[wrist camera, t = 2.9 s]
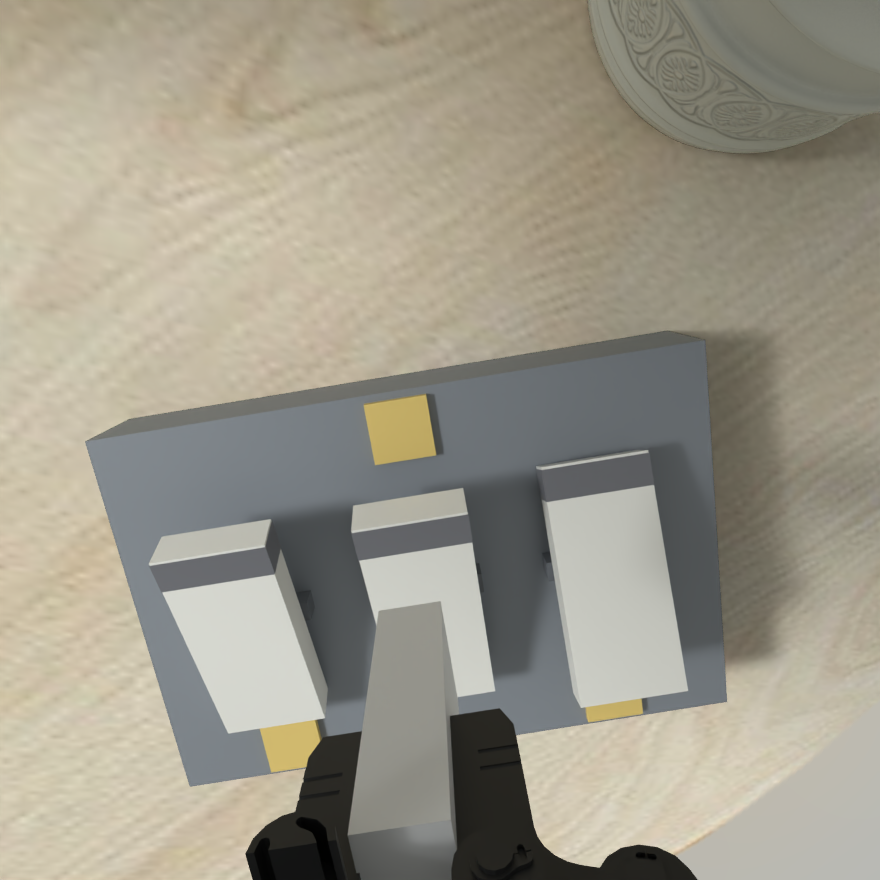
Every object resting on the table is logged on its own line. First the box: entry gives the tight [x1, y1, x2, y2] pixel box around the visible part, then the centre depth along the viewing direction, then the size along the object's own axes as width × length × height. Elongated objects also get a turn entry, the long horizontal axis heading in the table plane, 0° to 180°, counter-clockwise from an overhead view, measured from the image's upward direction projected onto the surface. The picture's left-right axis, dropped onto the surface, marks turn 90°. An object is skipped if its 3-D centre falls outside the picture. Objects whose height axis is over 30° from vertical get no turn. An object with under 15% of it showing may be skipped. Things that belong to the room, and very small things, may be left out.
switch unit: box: [85, 331, 727, 787], centre depth 29 cm, size 24×16×5 cm, turn 99°
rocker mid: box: [351, 488, 495, 697], centre depth 25 cm, size 4×9×2 cm, turn 9°
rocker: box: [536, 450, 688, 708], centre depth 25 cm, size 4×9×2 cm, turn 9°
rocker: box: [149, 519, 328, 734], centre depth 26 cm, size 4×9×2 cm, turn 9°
